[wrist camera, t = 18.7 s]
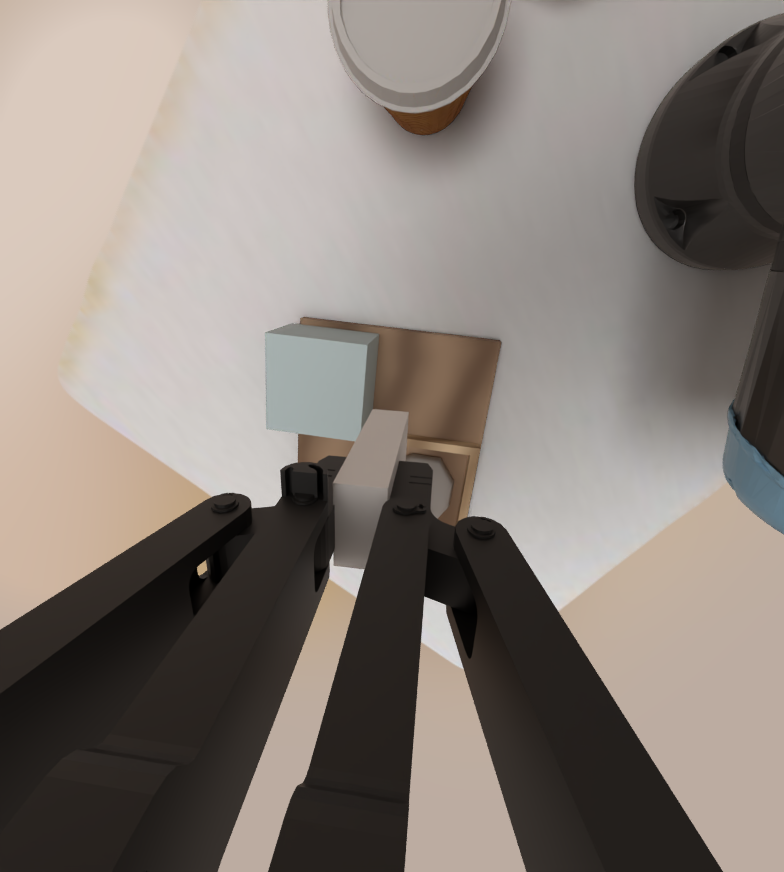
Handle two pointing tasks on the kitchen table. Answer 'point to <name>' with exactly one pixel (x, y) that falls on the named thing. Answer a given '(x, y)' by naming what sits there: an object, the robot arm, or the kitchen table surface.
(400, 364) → the board
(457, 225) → the kitchen table surface
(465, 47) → the disposable coffee cup
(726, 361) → the kitchen table surface
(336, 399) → the pale blue block
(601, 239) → the kitchen table surface
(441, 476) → the flask
